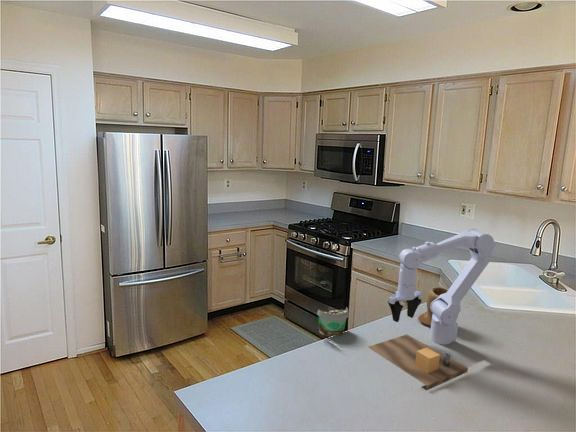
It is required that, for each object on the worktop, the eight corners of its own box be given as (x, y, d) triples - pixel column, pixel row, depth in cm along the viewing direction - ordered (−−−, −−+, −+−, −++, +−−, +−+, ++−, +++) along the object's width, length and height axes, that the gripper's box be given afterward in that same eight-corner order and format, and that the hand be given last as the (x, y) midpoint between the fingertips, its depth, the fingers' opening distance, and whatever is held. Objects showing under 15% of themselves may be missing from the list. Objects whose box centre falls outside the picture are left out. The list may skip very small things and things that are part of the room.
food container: (321, 342, 139) (322, 316, 138) (315, 334, 145) (317, 309, 143) (352, 339, 143) (354, 313, 141) (345, 331, 149) (347, 306, 147)
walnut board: (406, 338, 146) (406, 334, 145) (467, 372, 125) (467, 367, 125) (367, 350, 135) (367, 346, 135) (426, 390, 114) (427, 385, 114)
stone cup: (440, 333, 151) (444, 296, 148) (413, 321, 160) (417, 287, 157) (459, 323, 160) (463, 289, 158) (433, 313, 169) (436, 280, 167)
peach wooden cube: (425, 361, 127) (426, 347, 126) (438, 369, 123) (439, 354, 122) (414, 365, 124) (416, 351, 124) (427, 373, 120) (429, 358, 119)
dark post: (444, 366, 127) (446, 352, 126) (450, 369, 126) (451, 355, 125) (440, 368, 126) (442, 354, 125) (446, 371, 125) (448, 357, 124)
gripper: (411, 276, 145) (407, 310, 147) (383, 282, 137) (380, 318, 139) (427, 282, 139) (423, 318, 141) (399, 289, 131) (395, 326, 134)
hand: (403, 318), depth 140 cm, fingers open, 7 cm apart
